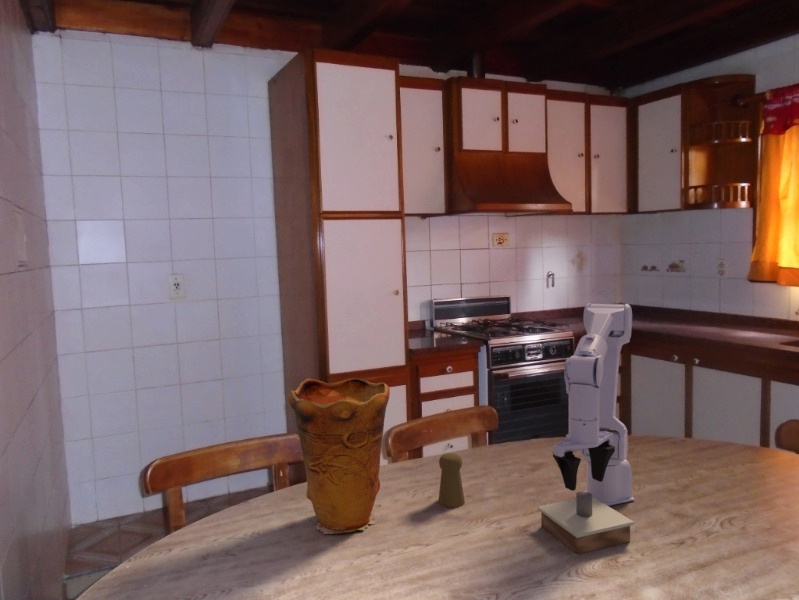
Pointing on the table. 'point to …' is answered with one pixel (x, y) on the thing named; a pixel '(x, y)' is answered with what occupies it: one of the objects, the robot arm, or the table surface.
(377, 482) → the vase
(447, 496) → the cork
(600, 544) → the walnut crate
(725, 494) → the table surface
